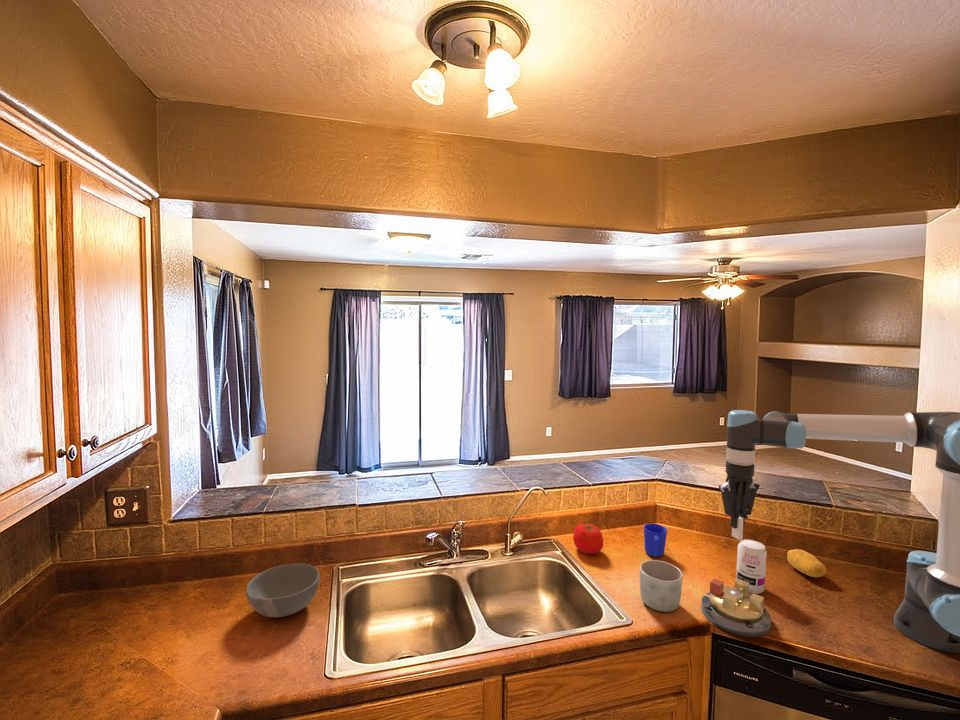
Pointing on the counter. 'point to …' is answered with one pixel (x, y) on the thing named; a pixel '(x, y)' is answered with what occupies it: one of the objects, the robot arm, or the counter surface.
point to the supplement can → (752, 564)
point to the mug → (654, 539)
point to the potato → (806, 563)
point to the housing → (734, 626)
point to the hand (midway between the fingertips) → (737, 537)
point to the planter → (660, 585)
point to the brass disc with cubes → (736, 602)
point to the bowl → (283, 589)
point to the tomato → (588, 538)
